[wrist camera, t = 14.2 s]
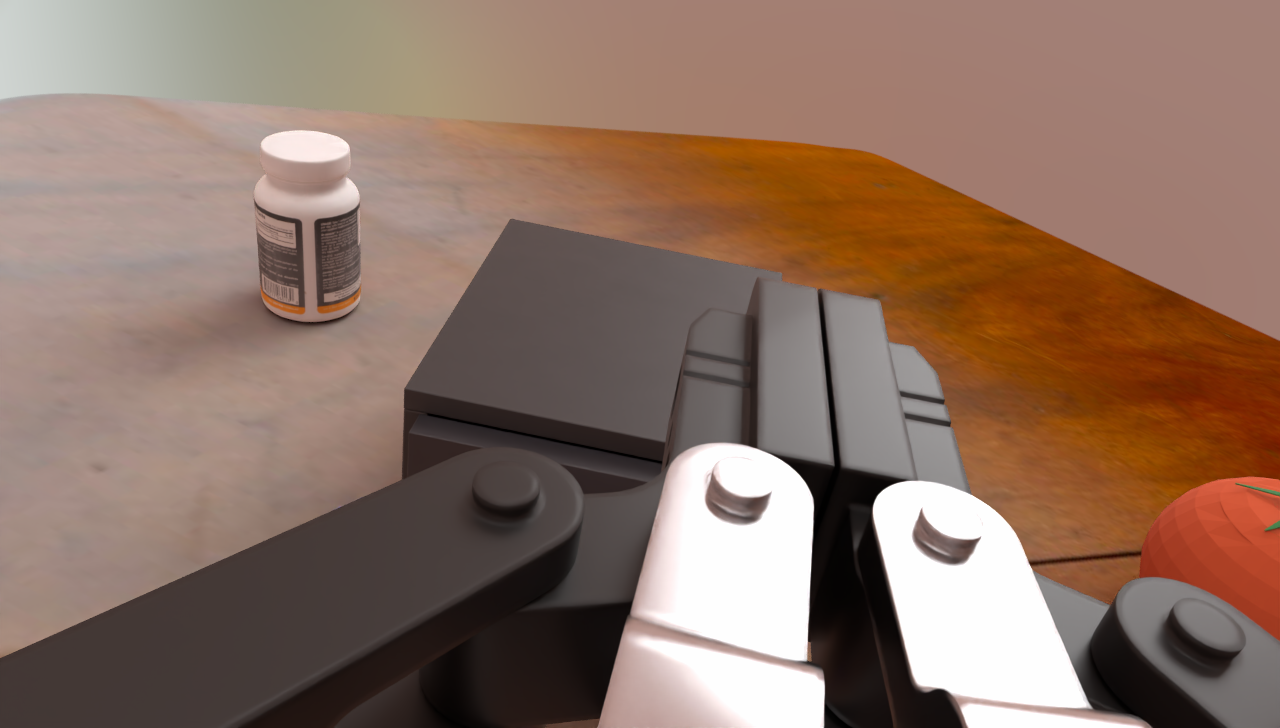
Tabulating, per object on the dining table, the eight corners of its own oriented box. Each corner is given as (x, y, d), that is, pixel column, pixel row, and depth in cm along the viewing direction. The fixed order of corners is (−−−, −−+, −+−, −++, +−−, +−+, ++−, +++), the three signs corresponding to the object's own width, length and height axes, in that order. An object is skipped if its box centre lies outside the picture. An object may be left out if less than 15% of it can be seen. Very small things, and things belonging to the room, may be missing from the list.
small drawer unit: (724, 660, 39) (783, 466, 33) (397, 591, 39) (403, 388, 34) (738, 437, 52) (782, 272, 47) (494, 387, 53) (510, 218, 47)
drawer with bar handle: (705, 758, 34) (758, 593, 29) (362, 685, 34) (363, 510, 30) (729, 447, 50) (765, 309, 45) (495, 399, 50) (509, 257, 46)
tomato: (1132, 721, 40) (1252, 547, 34) (1084, 557, 48) (1173, 398, 43) (1385, 789, 39) (1548, 621, 33) (1289, 609, 47) (1406, 453, 42)
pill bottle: (350, 276, 60) (349, 125, 55) (369, 322, 56) (370, 164, 51) (255, 282, 58) (244, 125, 53) (267, 330, 54) (257, 166, 48)
